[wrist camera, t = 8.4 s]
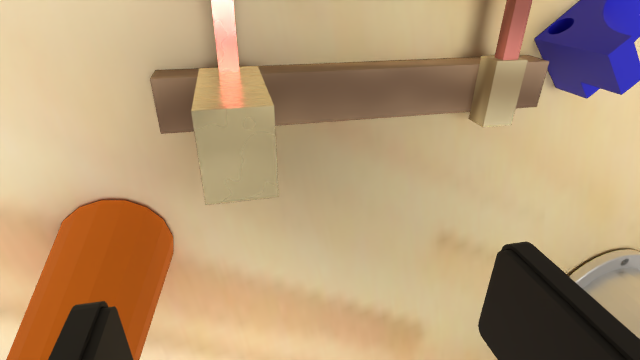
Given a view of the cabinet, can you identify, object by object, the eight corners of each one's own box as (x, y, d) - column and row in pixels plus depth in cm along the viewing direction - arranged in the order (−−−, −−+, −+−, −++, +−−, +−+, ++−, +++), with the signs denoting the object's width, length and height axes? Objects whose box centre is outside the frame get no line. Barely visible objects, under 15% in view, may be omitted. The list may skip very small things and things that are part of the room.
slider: (262, 136, 23) (278, 197, 17) (208, 140, 22) (205, 204, 16) (249, -55, 18) (265, -67, 12) (182, -57, 17) (163, -70, 11)
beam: (515, 104, 28) (551, 121, 25) (166, 129, 23) (158, 153, 20) (553, -47, 24) (603, -49, 21) (131, -55, 19) (114, -60, 16)
